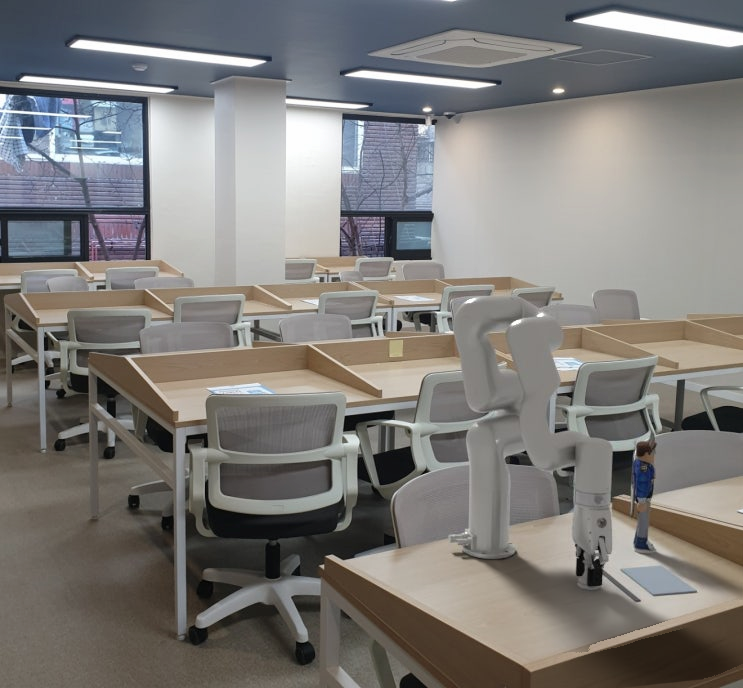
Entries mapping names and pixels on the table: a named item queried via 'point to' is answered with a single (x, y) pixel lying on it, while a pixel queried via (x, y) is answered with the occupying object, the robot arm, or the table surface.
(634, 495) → the figurine
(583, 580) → the chess piece
